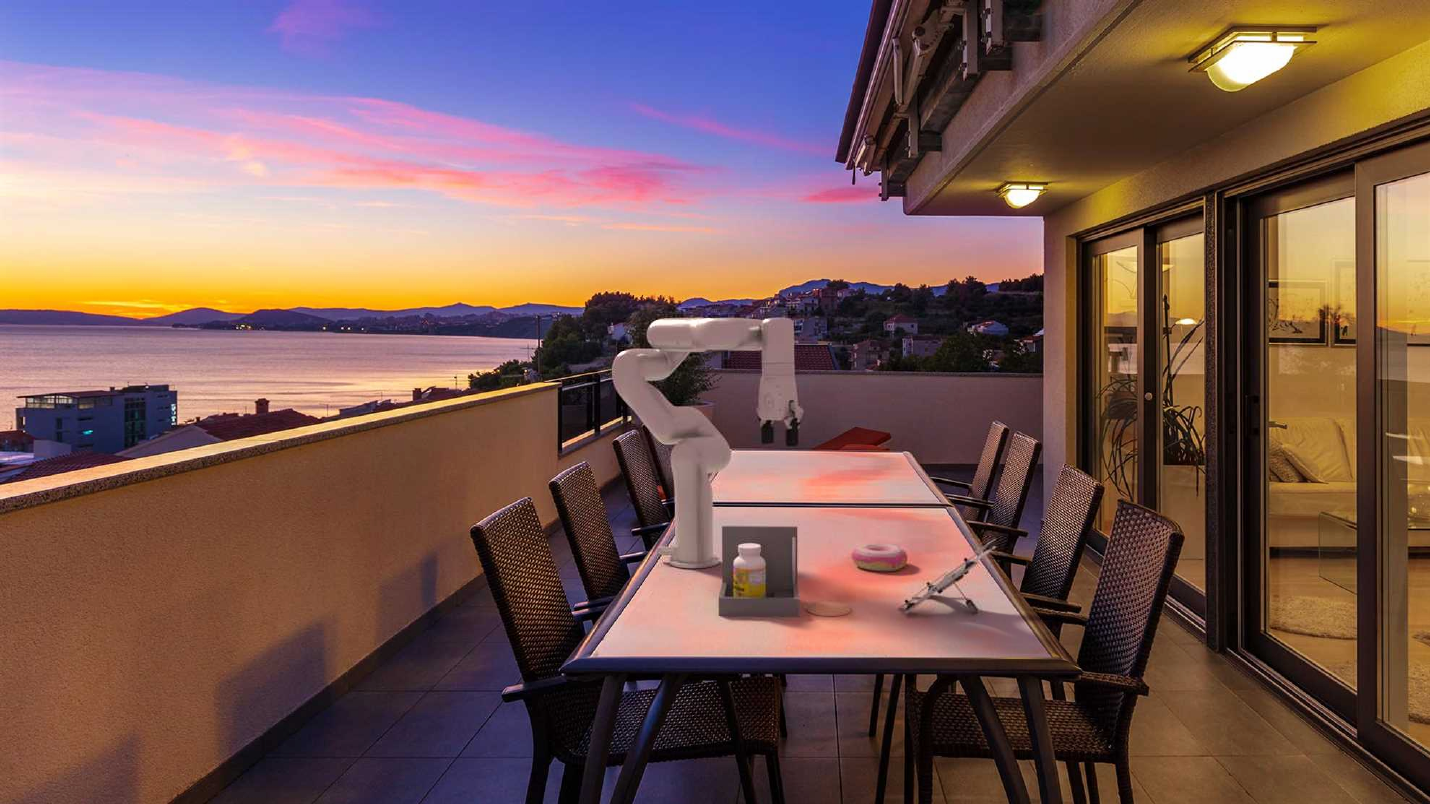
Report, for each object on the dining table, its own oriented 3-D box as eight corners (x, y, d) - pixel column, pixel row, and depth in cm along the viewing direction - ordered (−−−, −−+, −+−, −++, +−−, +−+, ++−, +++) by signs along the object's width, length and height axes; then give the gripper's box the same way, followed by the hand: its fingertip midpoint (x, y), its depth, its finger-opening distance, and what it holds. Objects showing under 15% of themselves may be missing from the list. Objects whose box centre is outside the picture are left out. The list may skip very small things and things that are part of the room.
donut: (851, 572, 200) (851, 552, 200) (851, 559, 213) (852, 540, 213) (908, 575, 198) (908, 554, 197) (905, 561, 211) (906, 542, 210)
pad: (806, 616, 165) (806, 614, 165) (804, 603, 174) (804, 601, 174) (852, 616, 165) (852, 614, 165) (848, 603, 174) (848, 601, 174)
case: (718, 615, 166) (718, 538, 165) (722, 597, 179) (722, 525, 178) (799, 616, 165) (799, 539, 164) (797, 598, 178) (797, 526, 177)
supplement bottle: (728, 604, 174) (728, 543, 173) (757, 601, 176) (757, 540, 175) (740, 613, 167) (740, 550, 167) (771, 609, 170) (770, 547, 169)
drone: (1032, 569, 172) (1001, 529, 174) (1010, 596, 152) (975, 551, 155) (948, 626, 181) (919, 587, 184) (917, 658, 162) (885, 614, 165)
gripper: (744, 372, 199) (745, 443, 199) (787, 371, 184) (788, 448, 184) (770, 371, 202) (771, 441, 203) (814, 370, 188) (815, 446, 188)
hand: (779, 444), depth 194 cm, fingers open, 9 cm apart
